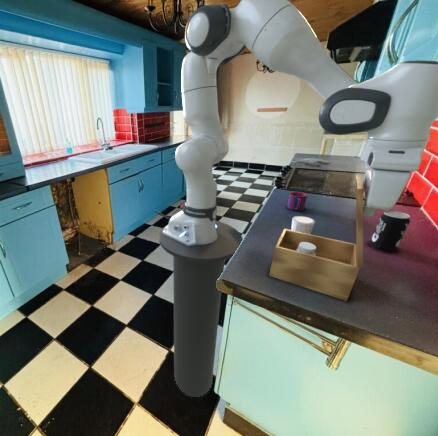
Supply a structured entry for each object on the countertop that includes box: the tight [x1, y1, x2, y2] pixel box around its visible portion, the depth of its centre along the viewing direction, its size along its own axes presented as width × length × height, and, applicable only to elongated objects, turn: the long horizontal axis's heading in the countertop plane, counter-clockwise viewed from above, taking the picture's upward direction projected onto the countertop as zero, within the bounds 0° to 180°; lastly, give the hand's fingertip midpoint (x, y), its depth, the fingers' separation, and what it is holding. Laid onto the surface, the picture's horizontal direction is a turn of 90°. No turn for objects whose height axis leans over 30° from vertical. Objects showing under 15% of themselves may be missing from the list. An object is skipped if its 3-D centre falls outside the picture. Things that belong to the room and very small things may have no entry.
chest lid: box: [355, 174, 364, 268], centre depth 56 cm, size 18×13×1 cm
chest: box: [269, 228, 361, 302], centre depth 65 cm, size 18×13×10 cm
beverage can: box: [369, 210, 411, 253], centre depth 75 cm, size 7×7×12 cm
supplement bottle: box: [296, 242, 316, 256], centre depth 66 cm, size 5×5×8 cm
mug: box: [286, 191, 308, 212], centre depth 107 cm, size 7×10×7 cm
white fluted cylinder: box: [290, 215, 316, 234], centre depth 85 cm, size 7×7×7 cm
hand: (366, 214), depth 54 cm, fingers closed
